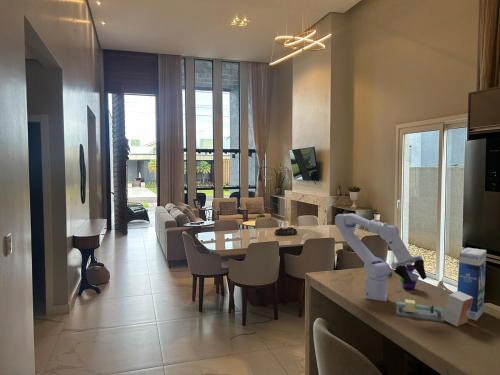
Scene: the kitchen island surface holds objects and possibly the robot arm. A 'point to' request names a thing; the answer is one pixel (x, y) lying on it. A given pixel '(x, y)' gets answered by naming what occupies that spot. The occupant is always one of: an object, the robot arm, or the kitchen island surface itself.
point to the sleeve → (409, 305)
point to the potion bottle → (412, 276)
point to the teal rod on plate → (421, 312)
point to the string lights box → (473, 278)
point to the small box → (458, 308)
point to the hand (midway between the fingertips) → (417, 281)
